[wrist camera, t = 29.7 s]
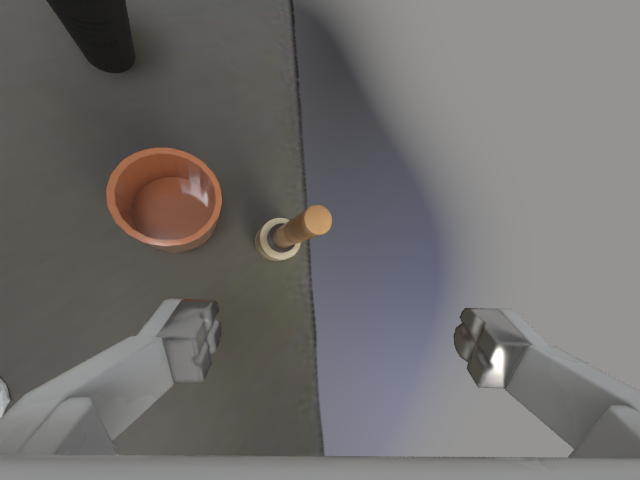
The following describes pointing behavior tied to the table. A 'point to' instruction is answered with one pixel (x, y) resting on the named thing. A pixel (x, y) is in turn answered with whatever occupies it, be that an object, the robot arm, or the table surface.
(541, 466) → the robot arm
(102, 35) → the drinking cup
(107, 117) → the table surface
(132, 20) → the table surface
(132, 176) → the tumbler
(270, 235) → the brush
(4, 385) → the frog figurine
